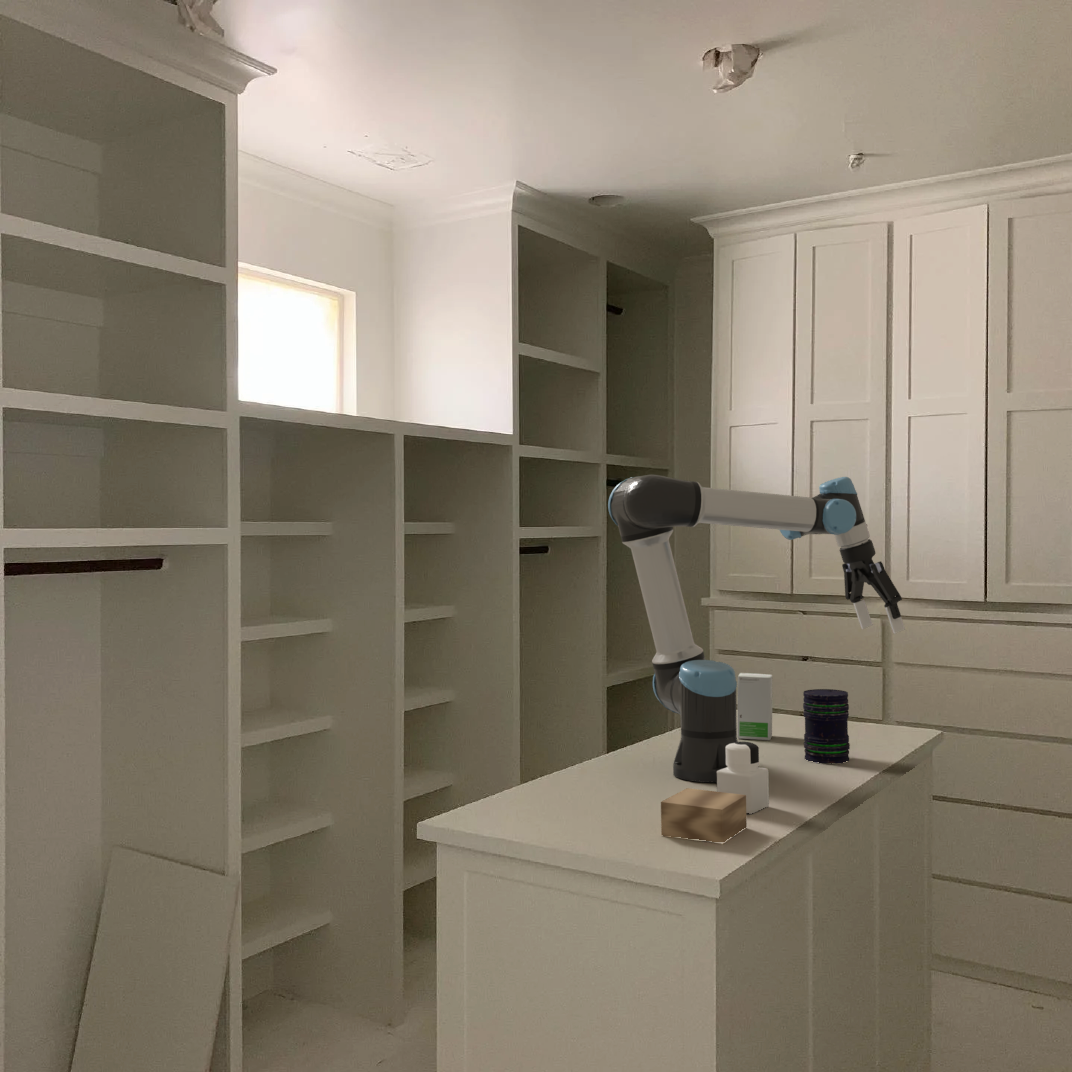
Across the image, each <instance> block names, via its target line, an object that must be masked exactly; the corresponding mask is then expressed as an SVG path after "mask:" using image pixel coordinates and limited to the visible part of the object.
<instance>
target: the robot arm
mask: <svg viewBox="0 0 1072 1072" xmlns="http://www.w3.org/2000/svg"><path fill="white" fill-rule="evenodd" d="M818 489H819V494H817V495H816V496H815V495H814V496H813V497H810V496H809V497H808V496H798V495H790V494H789V495H787V494H778V493H768V492H756V491H748V490H737V489H736V490H735V489H725V488H713V487H704V486H703V485H701V483H699V482H698V481H692V480H684V479H678V478H675V477H673V478H672V477H668V476H666V475H665V476H664V475H659V474H647V475H646V474H645V475H640V476H638V475H637V476H631V477H629V478H626V479H624V480H623V481H621V482H619V483H618V484H616V486H615V487H614V488H613V489H612V491H611V493H610V494H609V498H608V502H607V503H608V504H607V507H608V512H609V513H608V514H609V516H610V518H611V520H612V521H613V522H614V524H615V525H616V526H617V527H618V532H619V535H620V539H621V543H622V544H623V545H625V546H626V547H627V548H629V549H630V550H631V555H632V559H633V562H634V566H635V571H636V575H637V579H638V582H639V586H640V587H639V588H640V590H641V594H642V595H641V596H642V599H643V603H644V607H645V611H646V614H647V615H646V616H647V619H648V624H649V627H650V631H651V633H652V634H651V635H652V638H653V643H654V647H655V651H656V653H655V654H654V656H653V658H652V660H651V663H652V666H653V671H654V674H653V676H652V688H653V689H652V690H653V693H654V695H655V697H656V699H657V700H658V701H659V703H660V704H661V705H663V707H664V708H666V709H667V710H669V711H671V712H672V713H675V714H678V715H679V716H680V740H679V744H678V746H677V751H676V753H675V758H674V760H673V762H672V767H673V769H672V770H673V776H674V777H676V778H678V779H680V780H685V781H689V782H698V783H717V771H718V770H721V769H724V768H726V767H728V766H727V765H726V746H727V745H728V744H730V743H732V742H739V741H738V738H737V719H738V714H737V688H738V681H737V678H736V672H735V669H734V667H732V666H731V665H730V664H728V663H725V662H722V661H716V660H711V659H706V656H705V652H704V648H702V647H700V646H699V645H698V644H696V643H695V641H694V637H693V634H692V630H691V625H690V624H691V623H690V620H689V617H688V612H687V608H686V604H685V600H684V597H683V596H684V595H683V593H682V587H681V583H680V580H679V576H678V573H677V568H676V564H675V560H674V555H673V552H672V547H671V544H670V537H671V536H672V534H673V532H674V527H689V528H694V527H696V526H697V525H698V524H708V525H721V526H733V527H745V528H746V527H747V528H755V529H756V528H757V529H767V530H779V532H780V533H781V536H783V537H784V538H785V539H787V540H789V541H790V540H791V541H792V540H795V539H796V540H797V539H801V538H803V537H804V536H807V535H833V536H834V538H835V542H836V545H837V547H840V548H839V553H840V554H839V555H841V560H842V562H843V563H842V570H843V576H844V577H843V578H844V579H843V580H844V595H845V600H847V601H848V600H850V602H851V603H852V605H853V606H854V607H853V608H854V611H855V612H856V613H855V614H856V617H857V620H858V622H859V626H860V628H861V630H865V629H867V628H870V627H872V626H873V625H874V624H873V622H872V618H871V615H870V612H869V609H868V607H867V603H866V599H865V597H864V596H863V592H864V586H865V583H866V584H867V585H868V586H871V587H872V589H874V591H875V592H876V593H877V594H878V596H879V597H880V599H881V600H882V601H883V603H884V605H883V606H884V609H885V612H886V615H887V619H888V621H889V625H890V628H891V630H892V633H893V634H898V633H900V632H903V631H905V630H906V628H905V627H906V626H905V624H904V621H903V618H902V615H901V612H900V608H899V605H898V603H899V602H900V601H902V600H903V598H902V596H901V594H900V593H899V591H898V589H897V588H896V586H895V584H894V582H893V581H892V579H891V578H890V576H889V575H888V573H887V571H886V569H885V567H884V563H883V562H882V561H877V562H874V560H873V557H874V556H876V549H875V547H874V544H873V540H871V539H870V538H871V535H870V532H869V529H868V524H867V523H866V519H865V516H864V512H863V510H862V506H861V503H860V500H859V496H858V492H857V490H856V488H855V484H854V483H853V481H852V479H851V478H850V477H848V476H840V477H837V478H833V479H830V480H826V481H825V482H823V483H821V484H820V485H819V486H818Z"/></svg>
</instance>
